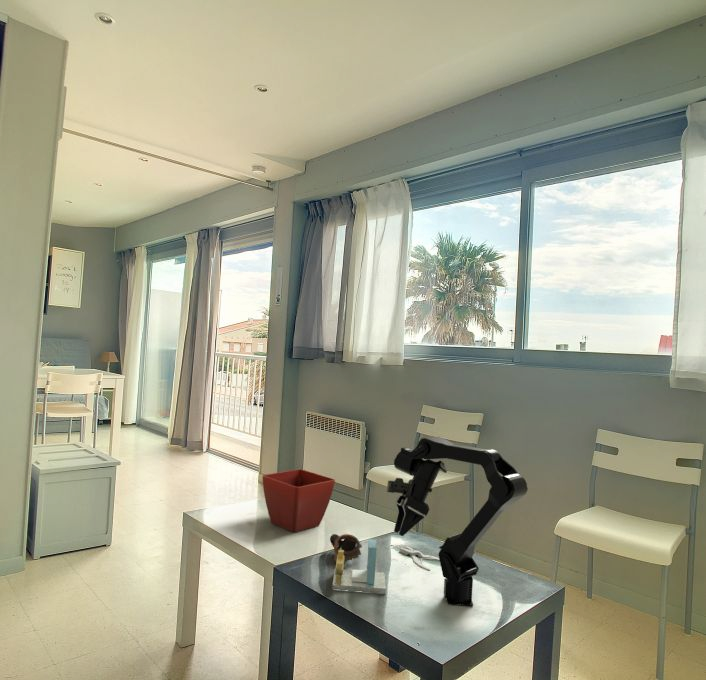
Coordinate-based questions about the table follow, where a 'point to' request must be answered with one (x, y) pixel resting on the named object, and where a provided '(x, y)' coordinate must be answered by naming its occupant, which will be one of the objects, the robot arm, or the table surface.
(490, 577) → the table surface
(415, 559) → the pliers
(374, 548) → the clip bar
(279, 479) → the plant pot
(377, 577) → the block holder base
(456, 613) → the table surface
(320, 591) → the table surface
